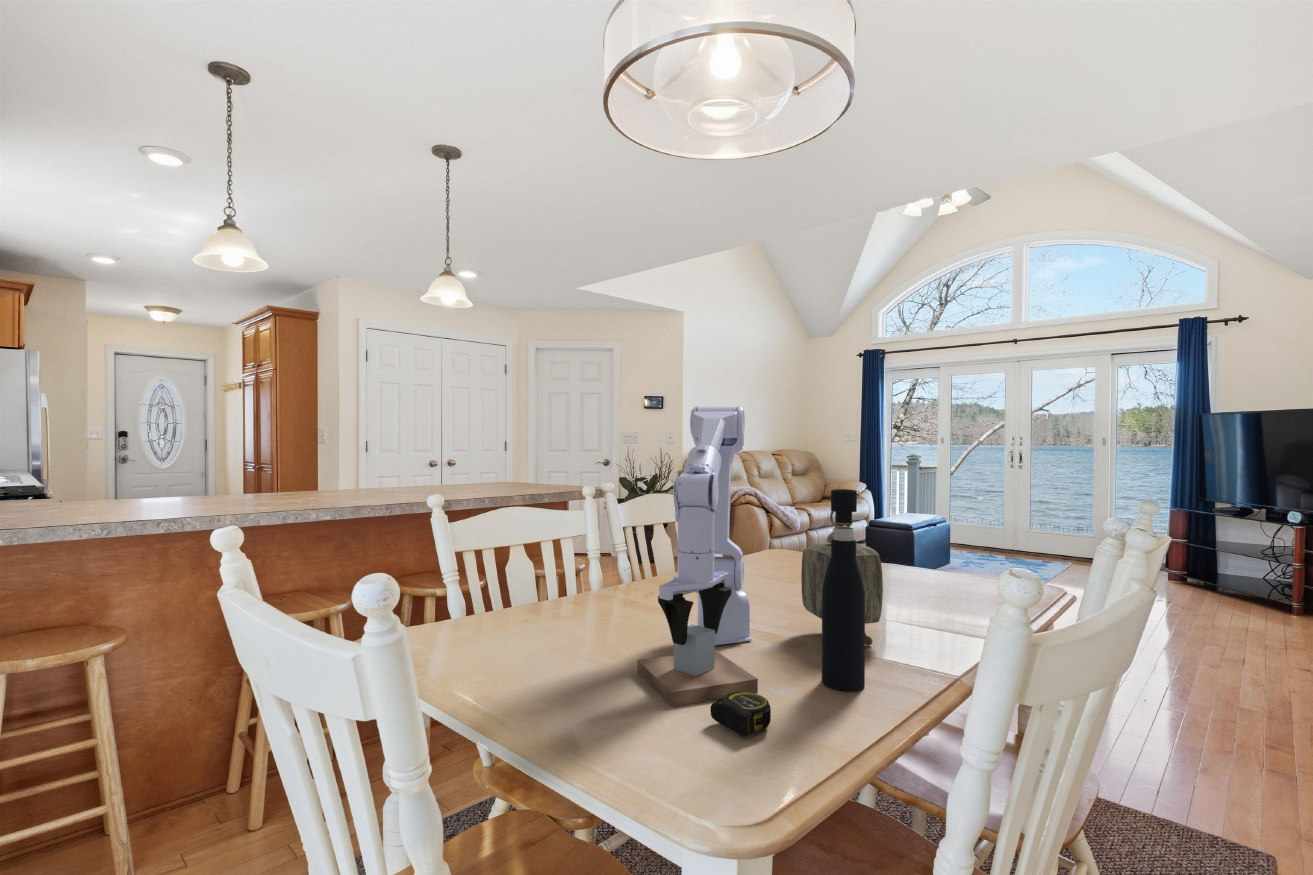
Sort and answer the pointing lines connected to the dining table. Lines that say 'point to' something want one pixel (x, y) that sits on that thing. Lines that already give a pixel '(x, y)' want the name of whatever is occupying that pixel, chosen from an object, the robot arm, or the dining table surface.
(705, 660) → the slate block
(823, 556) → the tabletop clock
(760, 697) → the tape measure
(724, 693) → the walnut base
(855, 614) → the wine bottle
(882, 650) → the dining table surface
